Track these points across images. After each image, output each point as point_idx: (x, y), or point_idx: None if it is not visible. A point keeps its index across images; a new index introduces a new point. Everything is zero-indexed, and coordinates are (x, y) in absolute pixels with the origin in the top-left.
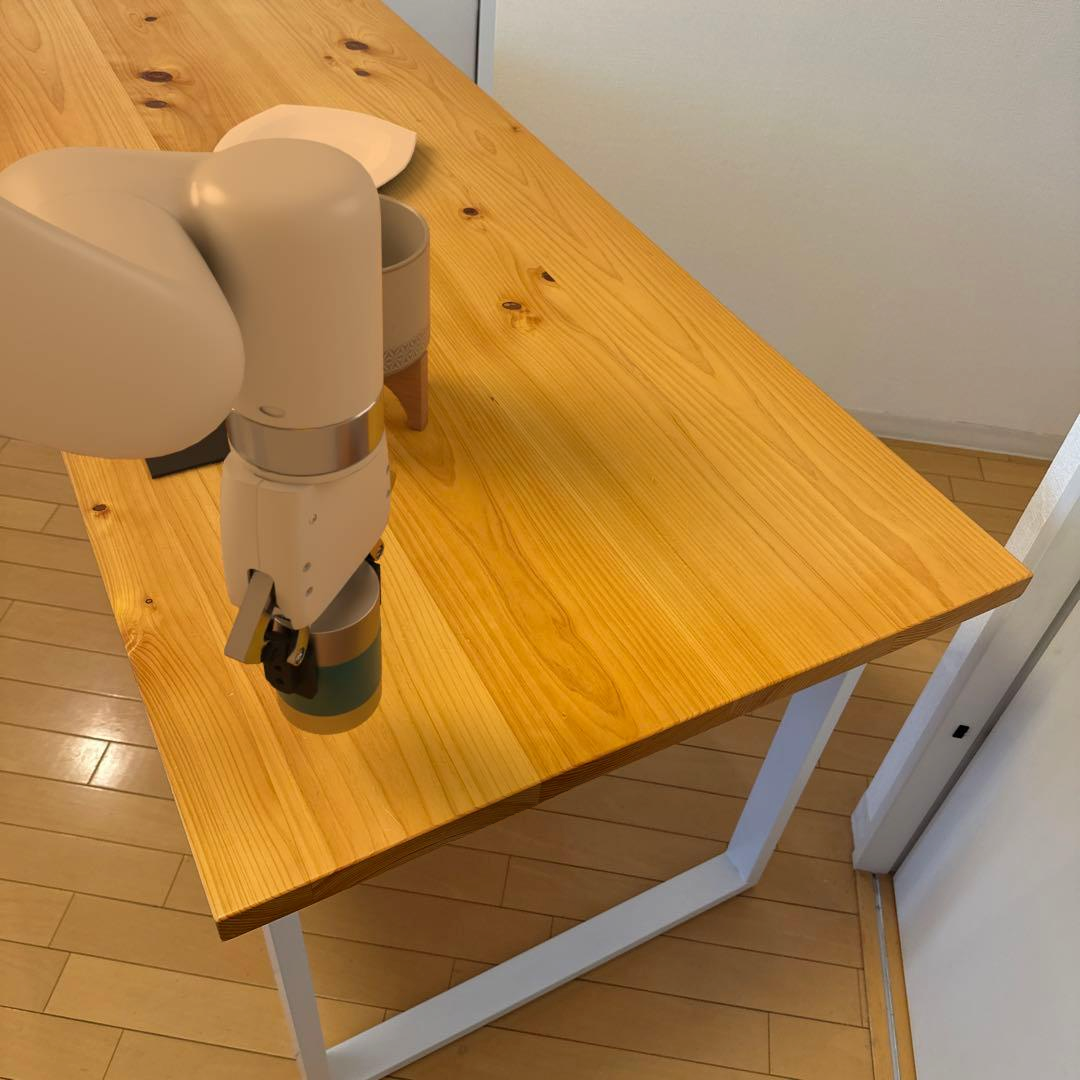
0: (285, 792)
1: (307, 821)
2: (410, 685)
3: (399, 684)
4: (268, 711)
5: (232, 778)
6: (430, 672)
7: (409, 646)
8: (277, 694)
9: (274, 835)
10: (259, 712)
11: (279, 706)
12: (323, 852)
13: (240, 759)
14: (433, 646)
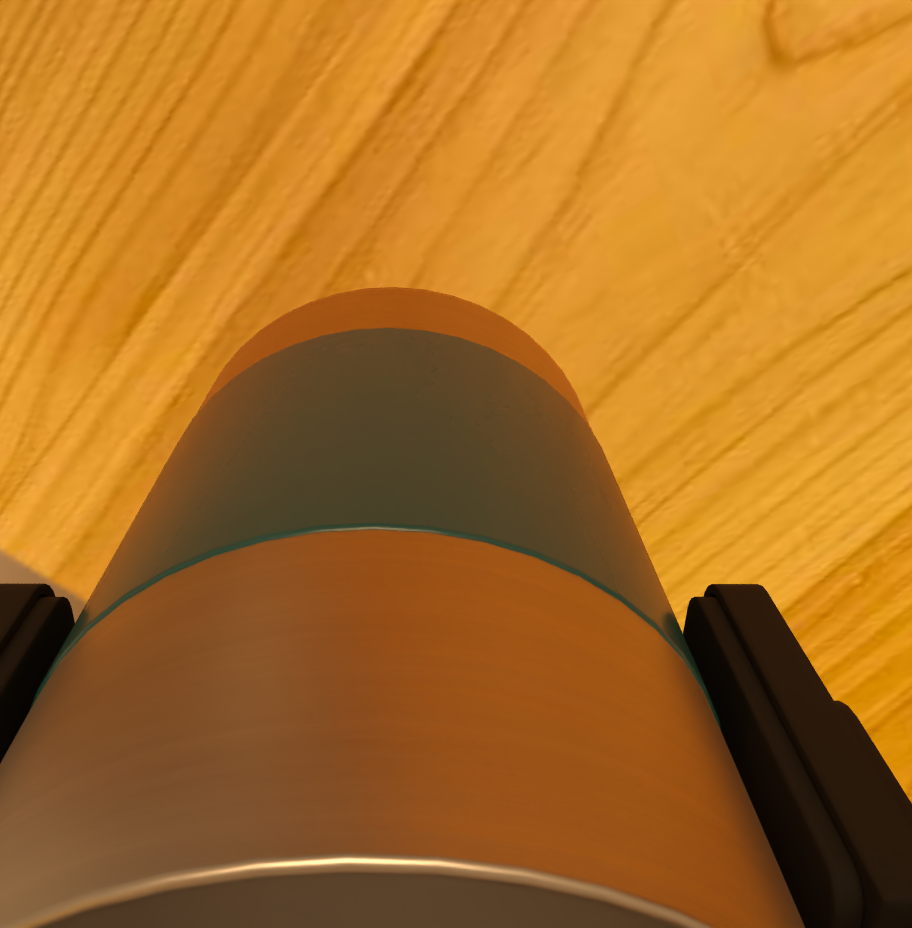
0: (145, 361)
1: (105, 460)
2: (643, 506)
3: (635, 478)
4: (371, 144)
5: (91, 180)
6: (707, 536)
7: (788, 442)
8: (210, 395)
9: (17, 403)
10: (353, 116)
11: (224, 368)
12: (57, 537)
13: (162, 163)
14: (807, 505)
